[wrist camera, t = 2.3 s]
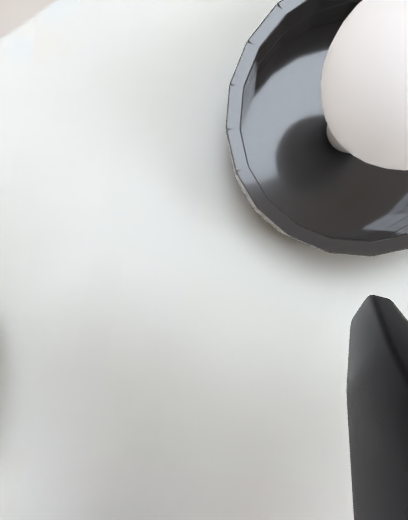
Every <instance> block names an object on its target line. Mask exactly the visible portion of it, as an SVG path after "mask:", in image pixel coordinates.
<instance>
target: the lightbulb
mask: <svg viewBox="0 0 408 520" xmlns="http://www.w3.org/2000/svg"><path fill="white" fill-rule="evenodd" d="M321 100H322V108H323V112H324V116H325V120H326V122H327V129H326V130H327V137H328V140H329V142H330V143H331V145H332V146H333V147H334V148H335V149H337V150H339V151H341V152H344V153H351V154H352V155H353V156H355V157H357V158H359V159H360V160H362V161H364V162H366V163H369V164H372V165H375V166H379V167H382V168H386V169H395V170H408V0H362V1H361V2H360V3H359V4H358V5H357V6H356V7H355V8H354V9H353V11H352V12H351V13H350V14H349V15H348V17H347V18H346V19H345V20H344V22H343V23H342V25H341V27H340V29H339V30H338V32H337V34H336V36H335V37H334V39H333V41H332V43H331V45H330V47H329V50H328V53H327V56H326V59H325V62H324V65H323V72H322V79H321Z"/></svg>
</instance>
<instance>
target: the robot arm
mask: <svg viewBox="0 0 408 520" xmlns="http://www.w3.org/2000/svg"><path fill="white" fill-rule="evenodd" d="M347 410H348V426H349V443H350V459H351V476H352V492H353V509H354V520H408V321H407V319H406V318H405V317H404V316H403V314H402V313H401V312H400V311H399V309H398V308H397V307H396V305H395V304H394V303H393V302H392V301H391V300H390V299H387V298H384V297H379V296H375V295H370V296H368V297H367V298H366V299H365V301H364V302H363V304H362V305H361V307H360V308H359V310H358V311H357V313H356V314H355V316H354V317H353V319H352V322H351V326H350V341H349V357H348V373H347Z"/></svg>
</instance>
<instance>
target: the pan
mask: <svg viewBox="0 0 408 520" xmlns="http://www.w3.org/2000/svg"><path fill="white" fill-rule="evenodd" d="M361 1H362V0H281V1H280V2H279V3H278V4H277V5H275V7H274V8H273V9H272V10H271V12H270V13H269V14H268V15H267V17H266V18H265V19H264V21H263V22H262V23H261V24H260V26H259V27H258V28H257V29H256V31H255V32H254V33H253V34H252V36H251V37H250V38H249V39H248V42H247V43H246V45H245V47H244V50H243V52H242V55H241V57H240V60H239V62H238V65H237V67H236V70H235V72H234V75H233V77H232V80H231V82H230V86H229V96H228V108H227V120H226V135H227V142H228V148H229V152H230V156H231V161H232V165H233V170H234V174H235V179H236V181H237V183H238V184H239V186H240V188H241V189H242V191H243V193H244V195H245V196H246V198H247V199H248V201H249V203H250V204H251V206H252V208H253V209H254V210H255V212H257V213H258V214H259V215H260V216H261V217H262V218H263V219H265V220H266V221H267V222H268V223H269V224H271V225H272V226H273V227H274V228H275V229H276V230H277V231H279V232H280V233H282V234H283V235H286V236H288V237H291V238H293V239H295V240H298V241H300V242H303V243H305V244H307V245H310V246H312V247H315V248H317V249H320V250H323V251H325V252H329V253H338V254H350V255H362V256H376V255H381V254H385V253H390V252H395V251H399V250H404V249H408V170H395V169H386V168H382V167H379V166H375V165H372V164H369V163H366V162H364V161H362V160H360V159H359V158H357V157H355V156H353V155H352V154H351V153H344V152H341V151H339V150H337V149H335V148H334V147H333V146H332V145H331V143H330V142H329V140H328V137H327V130H326V129H327V122H326V120H325V116H324V112H323V108H322V100H321V79H322V72H323V65H324V62H325V59H326V56H327V53H328V50H329V47H330V45H331V43H332V41H333V39H334V37H335V36H336V34H337V32H338V30H339V29H340V27H341V25H342V23H343V22H344V20H345V19H346V18H347V17H348V15H349V14H350V13H351V12H352V11H353V9H354V8H355V7H356V6H357V5H358V4H359V3H360V2H361Z"/></svg>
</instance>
